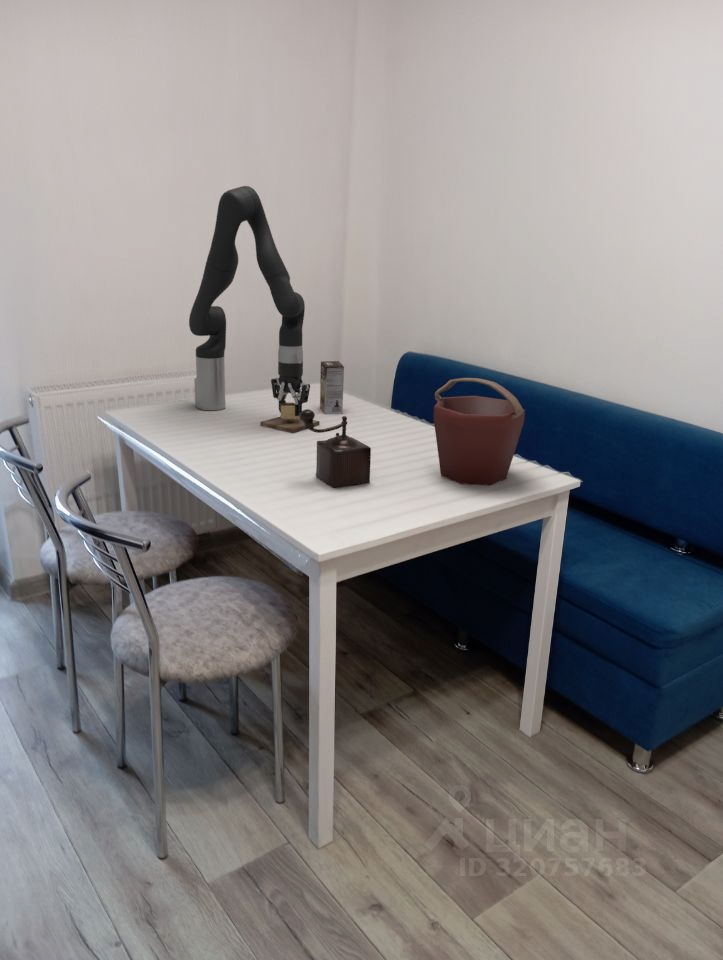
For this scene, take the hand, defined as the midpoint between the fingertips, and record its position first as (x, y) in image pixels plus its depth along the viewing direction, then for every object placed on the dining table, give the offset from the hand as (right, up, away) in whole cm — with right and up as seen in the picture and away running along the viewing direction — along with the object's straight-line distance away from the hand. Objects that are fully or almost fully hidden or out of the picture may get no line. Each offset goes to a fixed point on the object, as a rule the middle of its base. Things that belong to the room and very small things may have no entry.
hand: (290, 413), depth 248 cm
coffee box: (+12, +3, +21) cm, 24 cm away
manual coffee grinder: (+15, -21, -48) cm, 54 cm away
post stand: (0, -4, +1) cm, 4 cm away
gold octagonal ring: (0, -1, 0) cm, 1 cm away
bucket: (+51, -19, -39) cm, 67 cm away
